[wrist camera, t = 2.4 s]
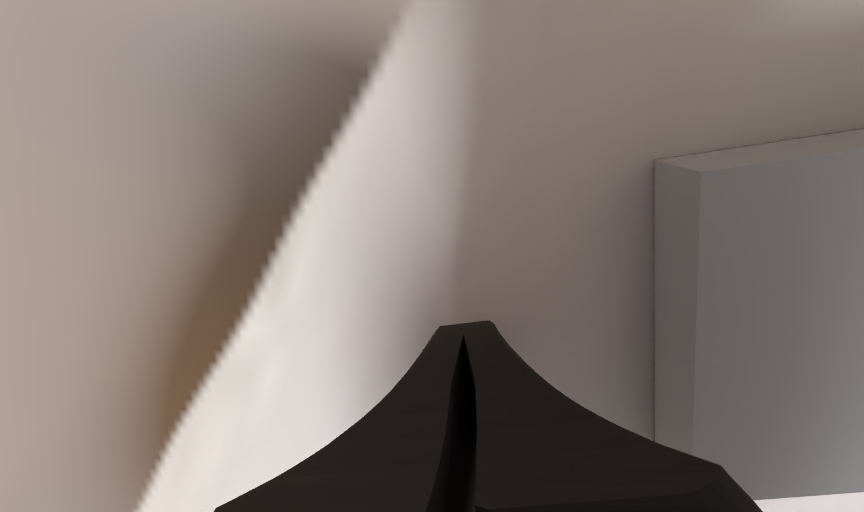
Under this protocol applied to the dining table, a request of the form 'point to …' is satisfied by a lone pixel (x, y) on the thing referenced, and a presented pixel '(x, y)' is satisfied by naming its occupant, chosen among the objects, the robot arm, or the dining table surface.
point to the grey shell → (763, 312)
